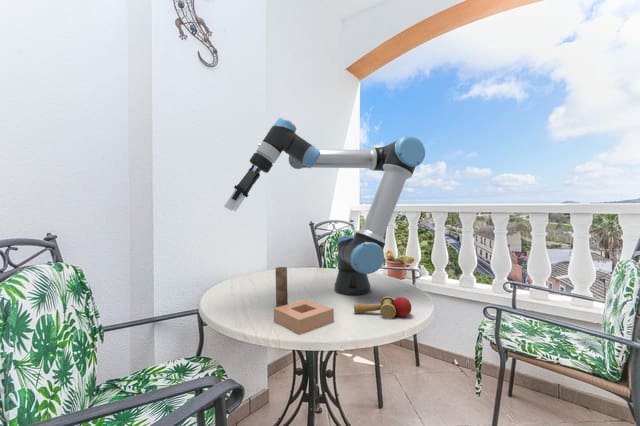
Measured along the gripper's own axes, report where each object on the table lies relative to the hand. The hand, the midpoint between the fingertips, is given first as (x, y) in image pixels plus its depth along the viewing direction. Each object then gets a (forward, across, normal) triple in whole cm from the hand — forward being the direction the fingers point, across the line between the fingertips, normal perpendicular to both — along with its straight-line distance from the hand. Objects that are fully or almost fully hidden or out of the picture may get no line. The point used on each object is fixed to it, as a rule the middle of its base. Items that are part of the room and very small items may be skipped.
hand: (230, 209), depth 99 cm
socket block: (+17, +15, +38) cm, 44 cm away
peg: (+20, +1, +33) cm, 39 cm away
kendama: (+3, +15, +60) cm, 62 cm away
